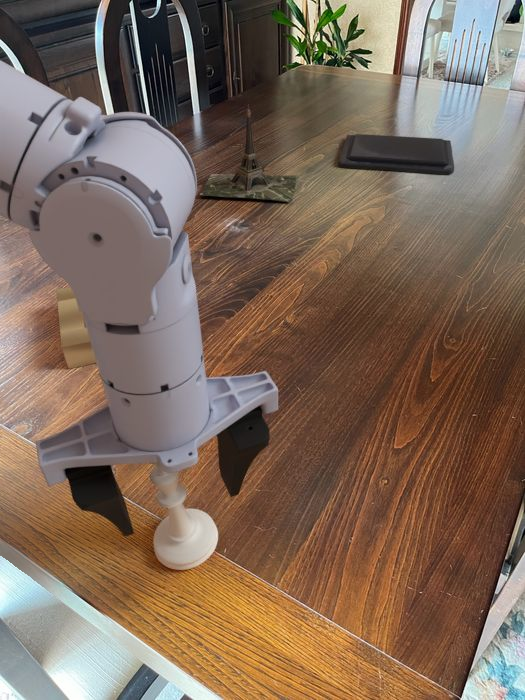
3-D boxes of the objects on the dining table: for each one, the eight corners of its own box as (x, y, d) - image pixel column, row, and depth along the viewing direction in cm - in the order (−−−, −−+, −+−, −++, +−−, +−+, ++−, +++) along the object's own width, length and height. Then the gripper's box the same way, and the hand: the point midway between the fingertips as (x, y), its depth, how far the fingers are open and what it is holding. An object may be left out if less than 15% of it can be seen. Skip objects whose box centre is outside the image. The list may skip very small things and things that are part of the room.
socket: (62, 310, 66) (56, 289, 64) (154, 292, 68) (150, 272, 66) (68, 369, 58) (61, 347, 56) (172, 346, 60) (168, 324, 58)
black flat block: (336, 156, 96) (347, 127, 107) (335, 167, 97) (346, 137, 109) (455, 165, 92) (454, 134, 104) (453, 176, 94) (452, 144, 105)
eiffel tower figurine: (197, 199, 88) (189, 112, 80) (211, 174, 96) (204, 92, 87) (291, 204, 87) (292, 115, 78) (297, 177, 94) (299, 94, 86)
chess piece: (174, 505, 45) (146, 419, 39) (228, 522, 43) (208, 434, 37) (141, 558, 41) (105, 472, 35) (199, 579, 40) (171, 492, 33)
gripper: (19, 454, 25) (85, 595, 34) (302, 366, 30) (296, 511, 38) (8, 362, 30) (68, 506, 39) (251, 297, 35) (256, 440, 43)
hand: (179, 503), depth 39 cm, fingers open, 7 cm apart
